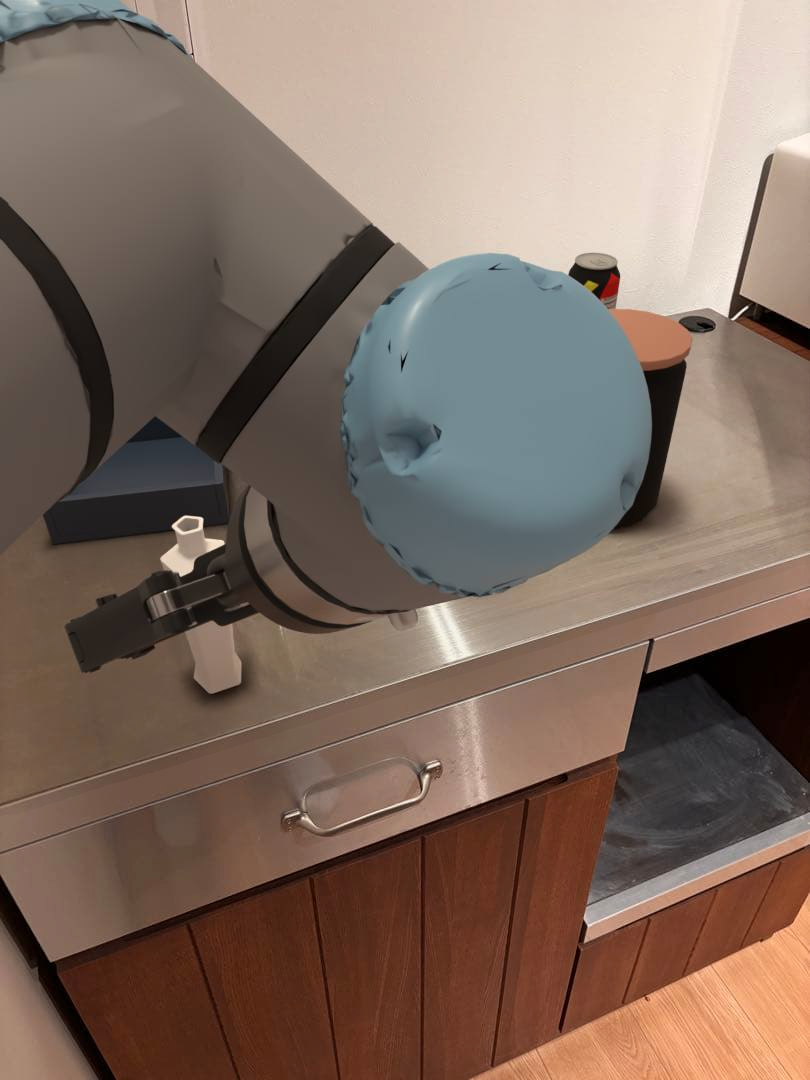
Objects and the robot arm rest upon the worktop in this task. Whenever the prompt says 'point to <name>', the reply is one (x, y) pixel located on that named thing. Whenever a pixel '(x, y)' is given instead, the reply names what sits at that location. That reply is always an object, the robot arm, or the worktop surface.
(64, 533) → the bin
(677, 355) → the coffee jar
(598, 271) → the beverage can
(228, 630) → the perfume bottle
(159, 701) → the worktop surface
